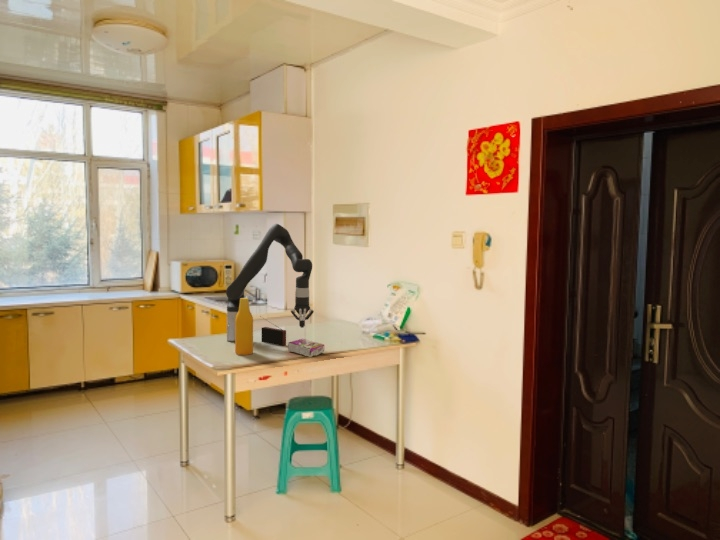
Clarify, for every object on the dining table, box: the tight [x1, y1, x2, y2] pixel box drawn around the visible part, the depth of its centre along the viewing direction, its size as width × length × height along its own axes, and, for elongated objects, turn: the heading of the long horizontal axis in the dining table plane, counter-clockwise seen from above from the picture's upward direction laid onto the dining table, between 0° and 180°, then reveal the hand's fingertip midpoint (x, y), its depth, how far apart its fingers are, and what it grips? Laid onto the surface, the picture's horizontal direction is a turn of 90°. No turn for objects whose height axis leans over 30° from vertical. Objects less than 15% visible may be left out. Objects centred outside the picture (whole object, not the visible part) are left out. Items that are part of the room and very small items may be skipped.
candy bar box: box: [287, 338, 325, 358], centre depth 279 cm, size 11×5×16 cm
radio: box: [259, 315, 287, 347], centre depth 300 cm, size 19×3×15 cm, turn 56°
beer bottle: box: [234, 297, 254, 356], centre depth 274 cm, size 9×9×29 cm
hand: (302, 327), depth 286 cm, fingers closed
